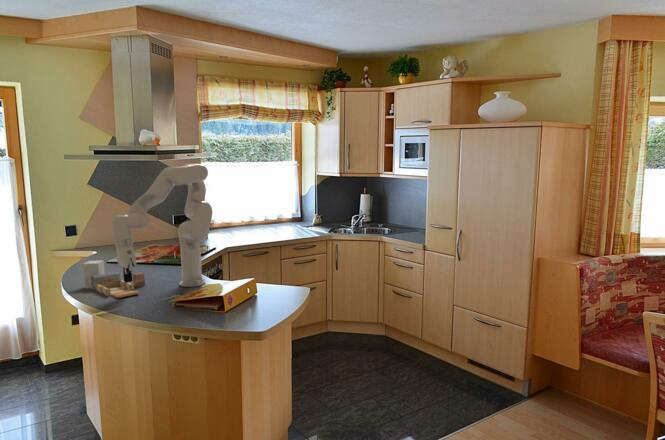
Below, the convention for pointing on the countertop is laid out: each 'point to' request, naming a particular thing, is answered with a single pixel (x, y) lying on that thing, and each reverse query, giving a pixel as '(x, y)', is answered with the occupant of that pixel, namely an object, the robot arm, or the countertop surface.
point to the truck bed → (110, 284)
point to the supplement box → (92, 271)
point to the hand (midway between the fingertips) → (128, 281)
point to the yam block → (138, 279)
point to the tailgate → (125, 294)
